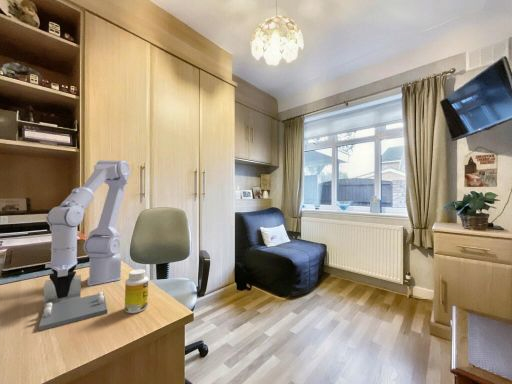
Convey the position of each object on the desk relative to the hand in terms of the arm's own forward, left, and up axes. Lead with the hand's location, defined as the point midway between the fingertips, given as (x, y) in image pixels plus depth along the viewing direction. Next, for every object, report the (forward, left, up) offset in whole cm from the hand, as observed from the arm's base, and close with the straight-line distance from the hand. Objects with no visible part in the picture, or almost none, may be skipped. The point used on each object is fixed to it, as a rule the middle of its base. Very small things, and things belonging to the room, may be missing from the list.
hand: (63, 293), depth 65 cm
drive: (0, 0, -2) cm, 2 cm away
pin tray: (-3, +10, -2) cm, 11 cm away
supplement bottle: (-16, +18, -2) cm, 24 cm away
